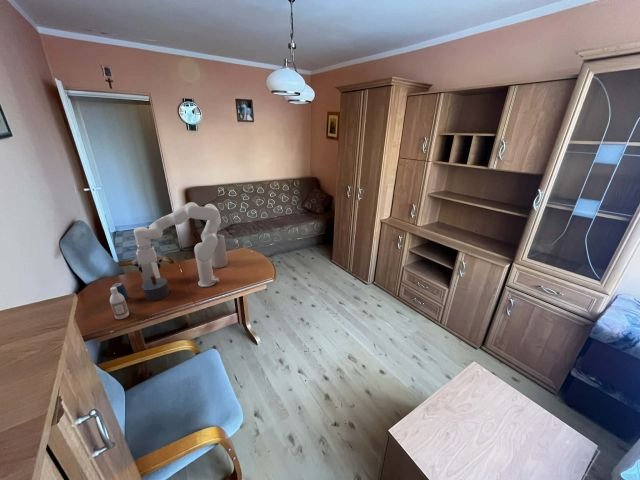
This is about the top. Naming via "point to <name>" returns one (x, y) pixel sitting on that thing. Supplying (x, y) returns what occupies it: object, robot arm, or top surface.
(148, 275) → the box
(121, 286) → the soda can
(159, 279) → the tin lid
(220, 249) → the cylinder vase
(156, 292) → the tin
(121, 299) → the bath foam
